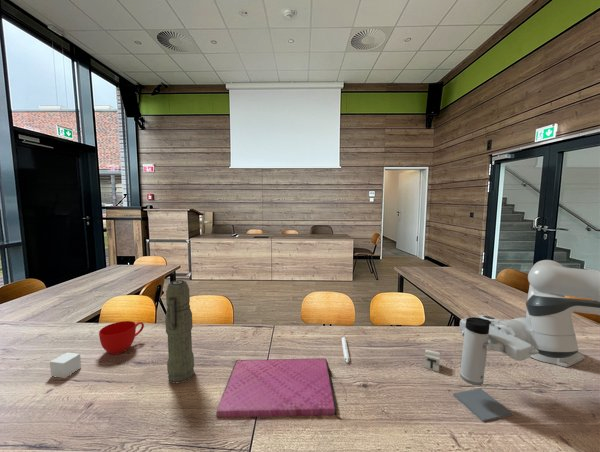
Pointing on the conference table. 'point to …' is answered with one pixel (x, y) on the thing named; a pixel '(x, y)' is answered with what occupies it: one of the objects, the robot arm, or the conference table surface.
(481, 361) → the travel mug
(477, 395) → the slate pad
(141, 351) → the conference table surface
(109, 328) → the ceramic cup
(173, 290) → the thermos
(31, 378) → the conference table surface
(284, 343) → the conference table surface
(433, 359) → the lettered cube
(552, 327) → the robot arm
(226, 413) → the laptop bag
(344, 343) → the marker
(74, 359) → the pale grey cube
